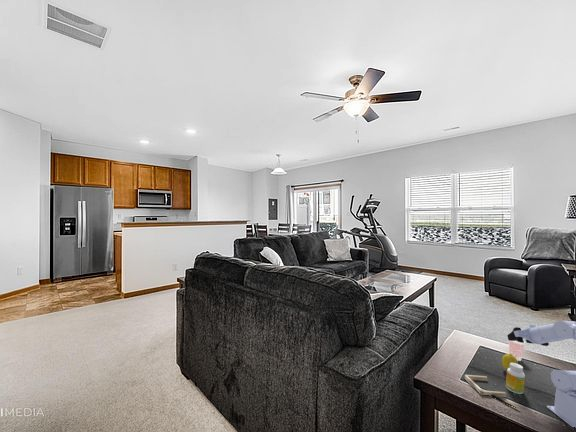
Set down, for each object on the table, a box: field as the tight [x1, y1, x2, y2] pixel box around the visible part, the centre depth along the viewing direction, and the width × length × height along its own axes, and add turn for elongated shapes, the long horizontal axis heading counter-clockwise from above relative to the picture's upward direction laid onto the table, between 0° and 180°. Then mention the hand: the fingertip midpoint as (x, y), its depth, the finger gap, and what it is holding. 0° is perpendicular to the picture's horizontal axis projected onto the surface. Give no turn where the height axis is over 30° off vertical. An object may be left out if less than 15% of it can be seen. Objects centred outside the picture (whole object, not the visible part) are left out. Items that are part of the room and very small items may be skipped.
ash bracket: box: [463, 374, 507, 398], centre depth 107 cm, size 11×9×2 cm
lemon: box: [501, 353, 519, 371], centre depth 120 cm, size 6×6×8 cm
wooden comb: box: [481, 388, 520, 409], centre depth 101 cm, size 14×1×2 cm, turn 31°
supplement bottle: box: [505, 363, 526, 395], centre depth 107 cm, size 5×5×10 cm
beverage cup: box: [508, 340, 526, 362], centre depth 133 cm, size 6×6×14 cm
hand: (517, 338), depth 115 cm, fingers open, 7 cm apart
